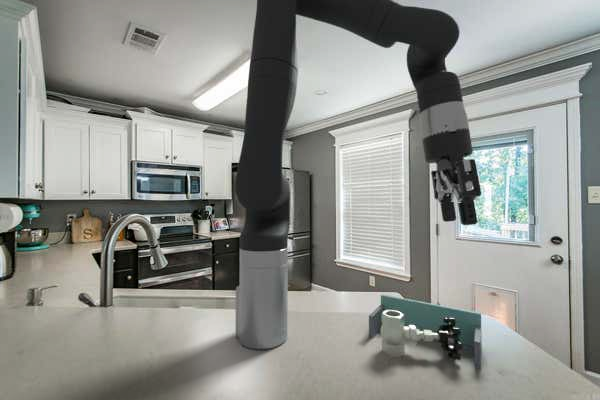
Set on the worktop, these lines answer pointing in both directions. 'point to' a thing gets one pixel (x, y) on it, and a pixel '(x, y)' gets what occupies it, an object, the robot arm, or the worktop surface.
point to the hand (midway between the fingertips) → (458, 222)
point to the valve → (416, 335)
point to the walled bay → (431, 320)
